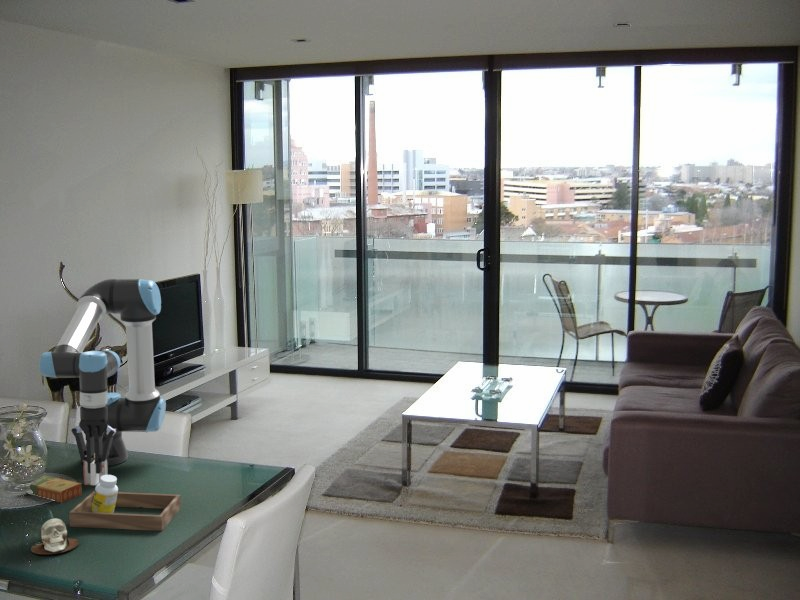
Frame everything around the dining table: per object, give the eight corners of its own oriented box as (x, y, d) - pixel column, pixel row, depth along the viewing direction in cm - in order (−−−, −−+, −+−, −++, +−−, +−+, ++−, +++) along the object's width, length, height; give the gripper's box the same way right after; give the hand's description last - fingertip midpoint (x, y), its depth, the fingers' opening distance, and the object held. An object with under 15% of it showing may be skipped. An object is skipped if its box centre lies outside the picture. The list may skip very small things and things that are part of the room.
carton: (61, 504, 266) (60, 491, 265) (24, 494, 273) (23, 481, 272) (82, 495, 273) (81, 482, 272) (46, 486, 280) (45, 473, 279)
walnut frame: (94, 504, 265) (93, 491, 265) (181, 508, 263) (180, 494, 263) (69, 526, 248) (69, 512, 248) (162, 530, 247) (161, 516, 246)
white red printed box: (86, 481, 285) (85, 451, 283) (107, 480, 286) (106, 451, 284) (84, 485, 281) (82, 455, 280) (105, 484, 282) (104, 454, 281)
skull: (84, 548, 232) (55, 525, 228) (54, 577, 230) (25, 554, 226) (80, 529, 243) (53, 507, 239) (52, 557, 241) (24, 535, 237)
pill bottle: (90, 508, 258) (96, 472, 255) (112, 508, 261) (119, 473, 258) (91, 519, 252) (97, 482, 250) (114, 519, 255) (121, 483, 252)
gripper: (66, 407, 248) (67, 486, 251) (110, 409, 247) (111, 489, 250) (77, 400, 256) (79, 478, 259) (120, 403, 255) (121, 480, 258)
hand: (95, 483), depth 254 cm, fingers closed
